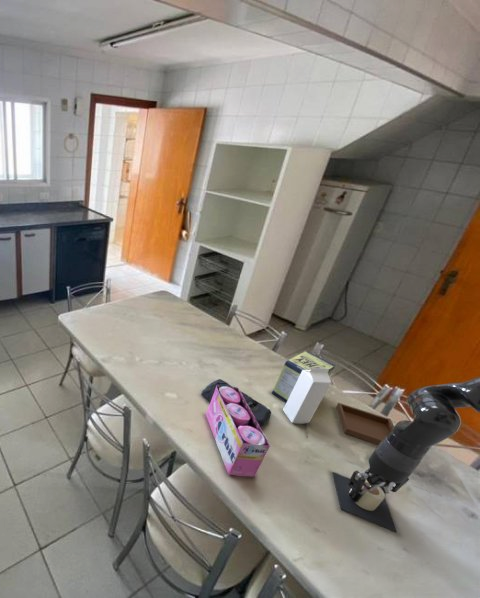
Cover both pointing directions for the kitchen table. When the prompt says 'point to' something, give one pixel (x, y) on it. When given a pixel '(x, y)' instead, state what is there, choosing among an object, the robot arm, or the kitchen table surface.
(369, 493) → the masking tape
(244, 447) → the gum box
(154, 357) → the kitchen table surface
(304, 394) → the milk
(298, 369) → the protein box
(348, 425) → the tray
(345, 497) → the mat
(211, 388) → the black pouch
